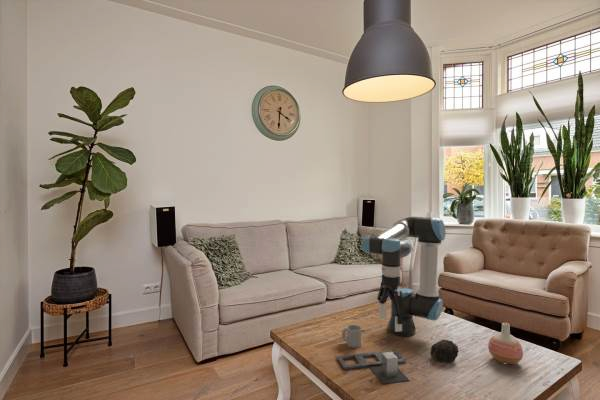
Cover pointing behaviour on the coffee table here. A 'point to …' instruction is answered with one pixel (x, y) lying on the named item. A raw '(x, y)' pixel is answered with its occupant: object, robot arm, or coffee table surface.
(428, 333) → the coffee table surface
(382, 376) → the rubber mat
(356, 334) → the cup
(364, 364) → the rail
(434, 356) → the rock
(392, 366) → the grey rectangular block
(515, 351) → the vase
